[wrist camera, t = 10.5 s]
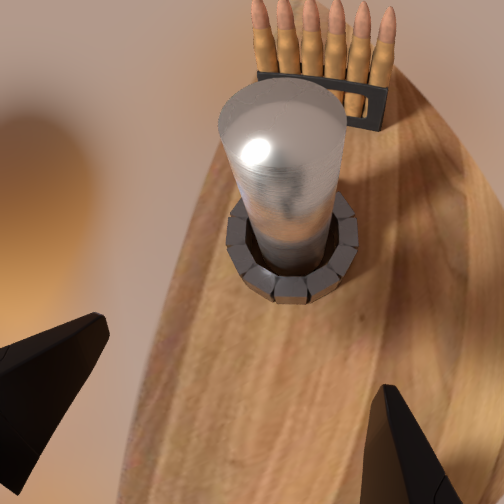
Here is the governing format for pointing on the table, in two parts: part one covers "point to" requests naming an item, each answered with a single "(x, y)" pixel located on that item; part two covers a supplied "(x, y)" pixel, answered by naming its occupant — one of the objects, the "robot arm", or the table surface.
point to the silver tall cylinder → (286, 166)
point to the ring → (293, 287)
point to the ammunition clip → (330, 56)
